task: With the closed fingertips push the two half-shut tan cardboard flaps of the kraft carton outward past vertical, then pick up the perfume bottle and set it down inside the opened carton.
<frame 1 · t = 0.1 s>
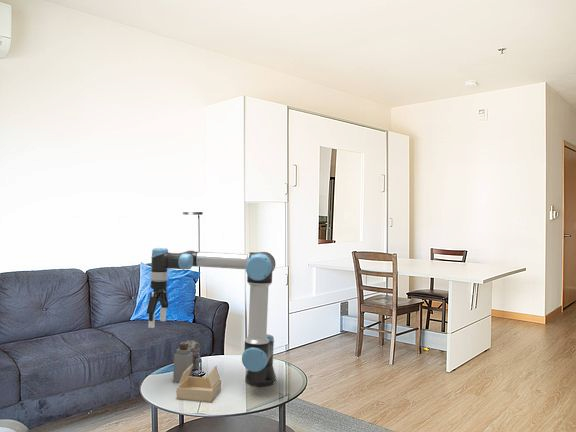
hand: (157, 324, 228), 28 cm above the table, fingers open, 13 cm apart
figurine: (188, 369, 249), on the table
flap 1: (186, 374, 217), point 9 cm above the table, hinge at 70.0°
perfume bottle: (182, 381, 232), on the table
carton: (199, 394, 216), on the table
flap 2: (213, 376, 215), point 9 cm above the table, hinge at 70.0°
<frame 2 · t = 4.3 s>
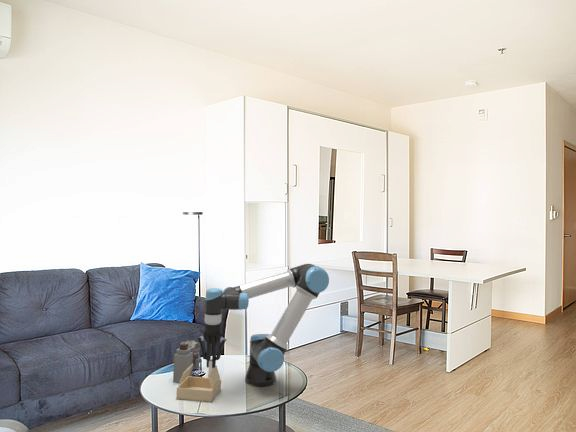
hand: (210, 374, 215), 9 cm above the table, fingers closed
flap 2: (214, 376, 215), point 9 cm above the table, hinge at 71.0°, touching gripper
everything else where it was.
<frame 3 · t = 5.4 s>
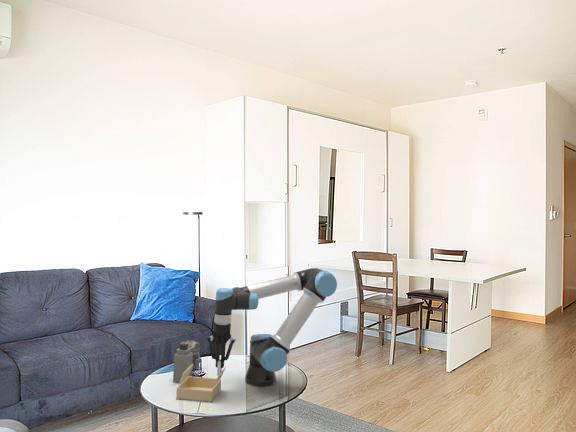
hand: (219, 374, 215), 10 cm above the table, fingers closed
flap 2: (219, 377, 215), point 9 cm above the table, hinge at 112.8°, touching gripper
everything else where it was.
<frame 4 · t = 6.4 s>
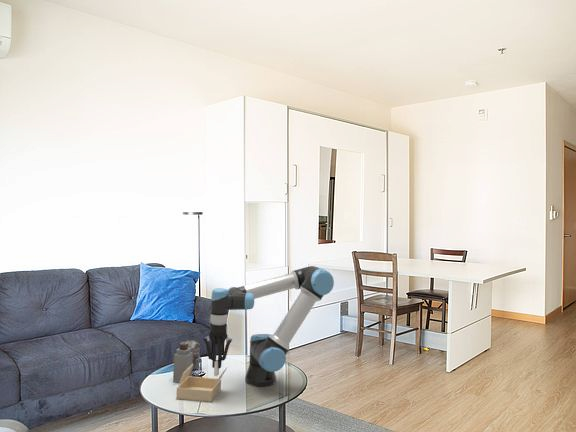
hand: (216, 375, 215), 10 cm above the table, fingers closed
flap 2: (220, 377, 215), point 8 cm above the table, hinge at 119.0°
everything else where it was.
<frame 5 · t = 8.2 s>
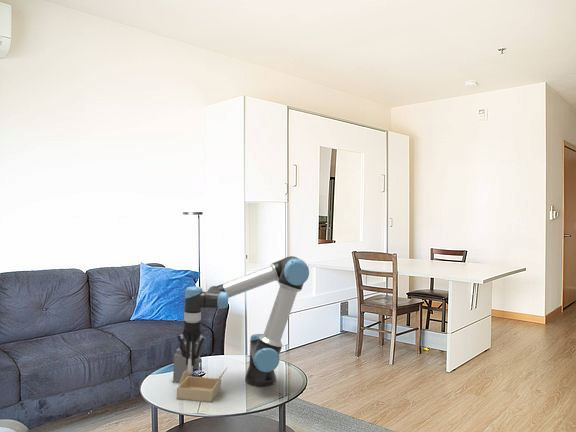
hand: (190, 372, 216), 10 cm above the table, fingers closed
flap 1: (186, 374, 217), point 9 cm above the table, hinge at 70.0°, touching gripper
everything else where it was.
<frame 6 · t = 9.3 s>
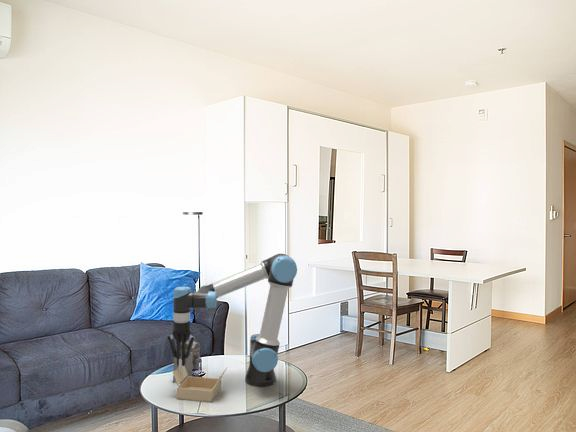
hand: (181, 372, 217), 9 cm above the table, fingers closed
flap 1: (180, 373, 217), point 9 cm above the table, hinge at 114.6°, touching gripper
everything else where it was.
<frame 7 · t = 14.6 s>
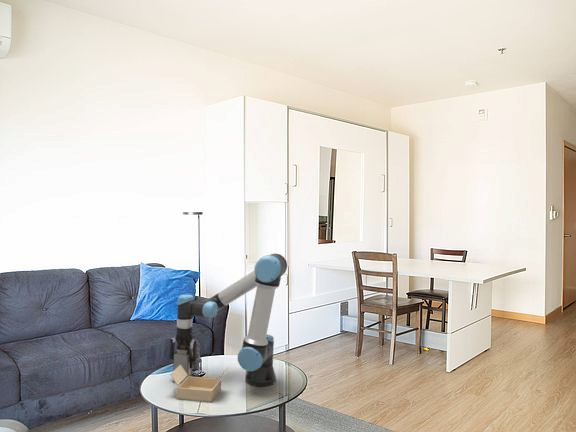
hand: (182, 374, 232), 3 cm above the table, fingers closed on perfume bottle, 6 cm apart
flap 1: (179, 374, 217), point 8 cm above the table, hinge at 127.7°
perfume bottle: (182, 381, 232), on the table, touching gripper
everything else where it was.
when the fingers open (6 cm above the table, at t = 19.8 s): perfume bottle drops 2 cm, resting on carton.
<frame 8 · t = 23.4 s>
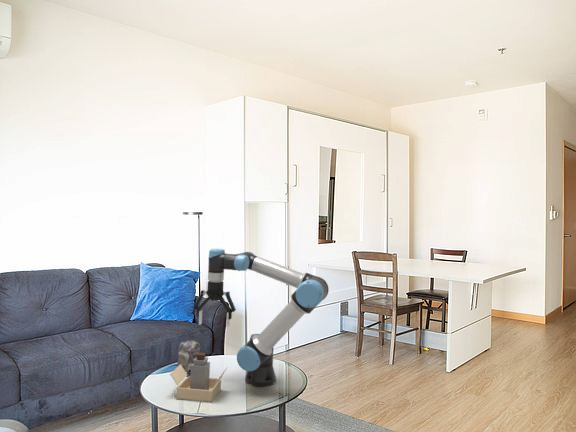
hand: (214, 325, 228), 29 cm above the table, fingers open, 13 cm apart
perfume bottle: (199, 393, 216), resting on carton
everything else where it was.
at the end: flap 2 at +119° (first picture: +70°); flap 1 at +128° (first picture: +70°); perfume bottle inside the target area on the carton (0.1 cm from its centre), point 0.3 cm above the carton's base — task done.
